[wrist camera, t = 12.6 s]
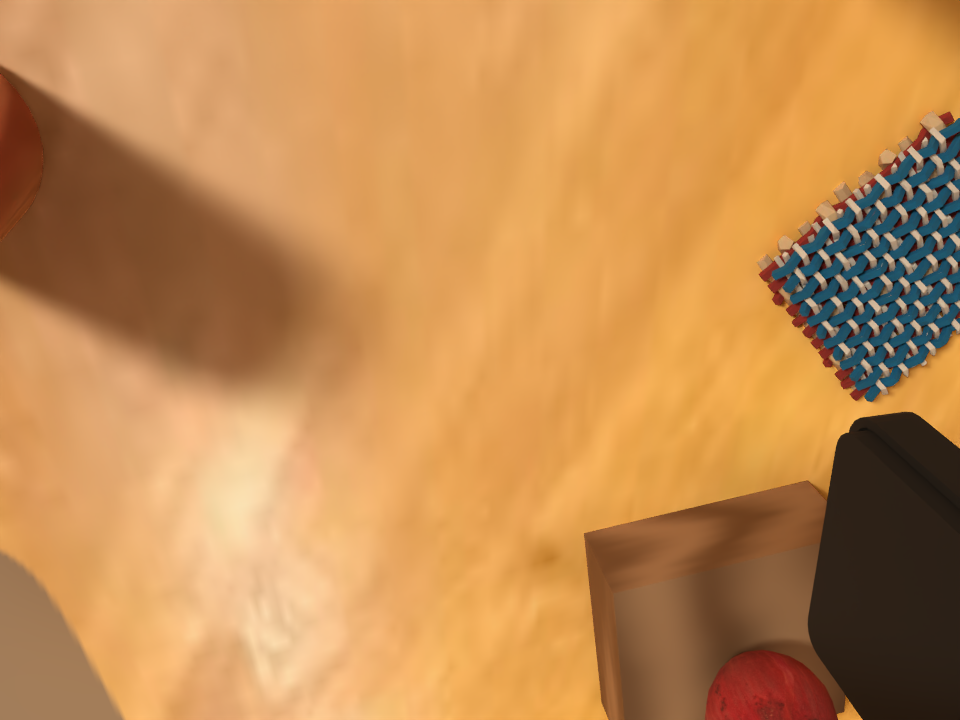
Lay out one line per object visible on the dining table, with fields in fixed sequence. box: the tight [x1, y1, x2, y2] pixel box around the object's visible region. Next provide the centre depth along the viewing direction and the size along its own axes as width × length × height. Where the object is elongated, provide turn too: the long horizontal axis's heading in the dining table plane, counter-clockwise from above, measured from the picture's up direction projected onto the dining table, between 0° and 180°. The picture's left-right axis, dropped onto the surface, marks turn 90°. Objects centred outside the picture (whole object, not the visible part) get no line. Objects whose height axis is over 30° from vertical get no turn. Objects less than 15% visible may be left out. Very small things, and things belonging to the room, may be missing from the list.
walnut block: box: [584, 481, 845, 720], centre depth 47 cm, size 12×12×5 cm
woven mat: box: [757, 111, 960, 402], centre depth 42 cm, size 10×11×2 cm
